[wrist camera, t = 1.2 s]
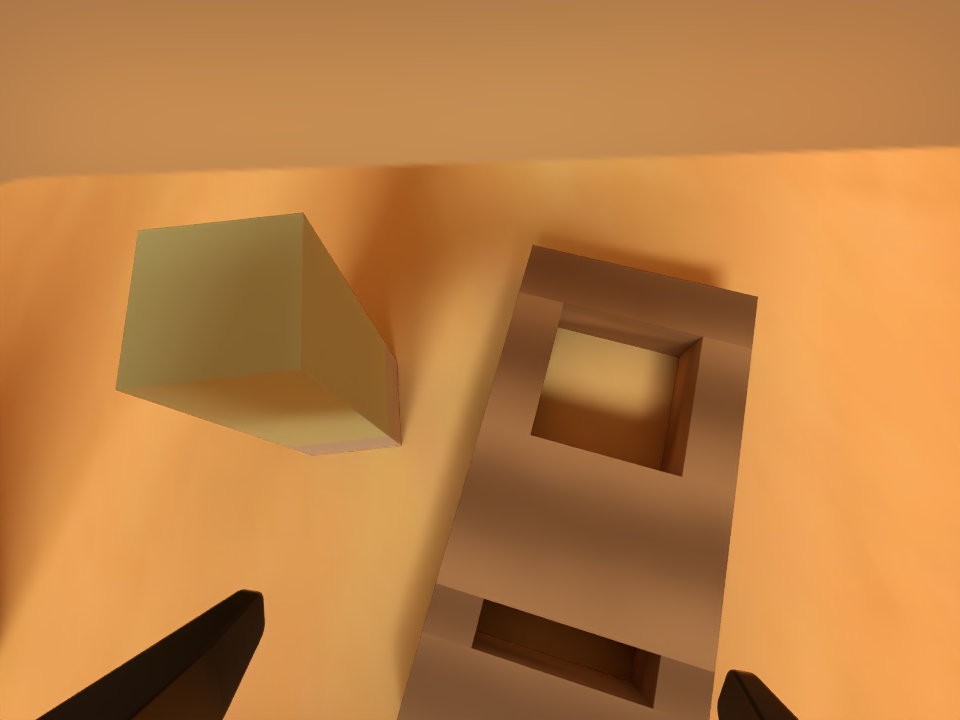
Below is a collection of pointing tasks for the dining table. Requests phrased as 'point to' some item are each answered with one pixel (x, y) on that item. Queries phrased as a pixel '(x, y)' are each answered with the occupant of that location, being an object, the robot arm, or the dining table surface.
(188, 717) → the robot arm
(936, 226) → the dining table surface
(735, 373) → the socket board
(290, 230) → the square bit
